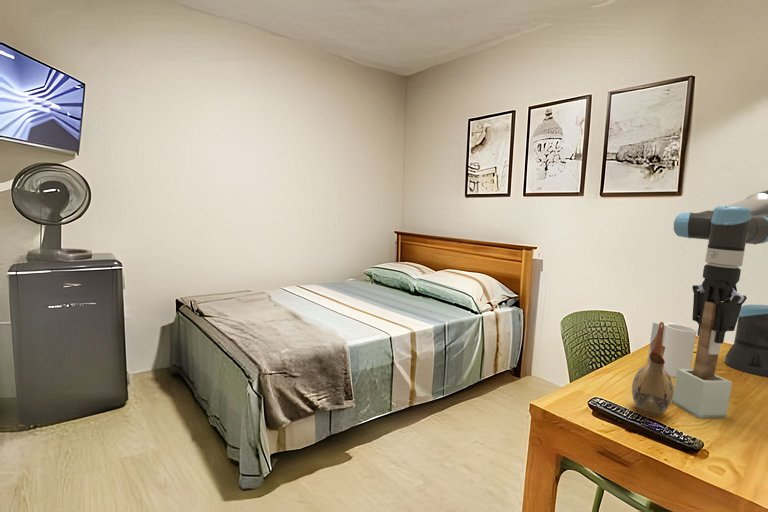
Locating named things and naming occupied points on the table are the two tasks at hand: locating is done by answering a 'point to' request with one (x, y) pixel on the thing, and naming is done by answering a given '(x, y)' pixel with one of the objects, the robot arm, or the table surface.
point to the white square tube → (701, 394)
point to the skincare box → (655, 330)
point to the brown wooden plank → (706, 345)
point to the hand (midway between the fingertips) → (707, 351)
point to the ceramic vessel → (653, 381)
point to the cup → (678, 347)
